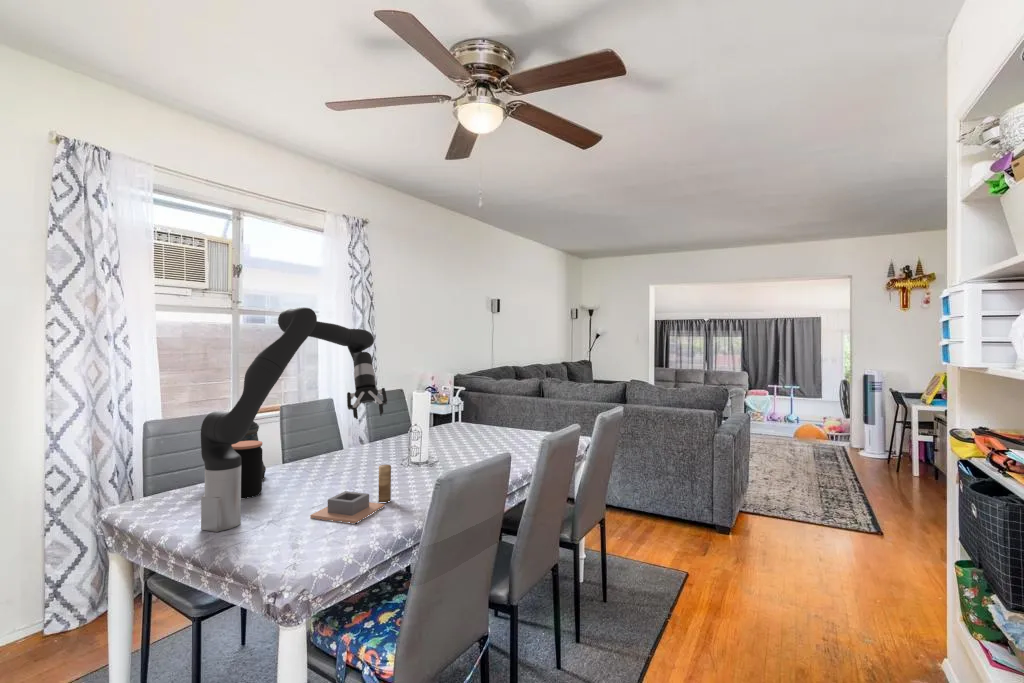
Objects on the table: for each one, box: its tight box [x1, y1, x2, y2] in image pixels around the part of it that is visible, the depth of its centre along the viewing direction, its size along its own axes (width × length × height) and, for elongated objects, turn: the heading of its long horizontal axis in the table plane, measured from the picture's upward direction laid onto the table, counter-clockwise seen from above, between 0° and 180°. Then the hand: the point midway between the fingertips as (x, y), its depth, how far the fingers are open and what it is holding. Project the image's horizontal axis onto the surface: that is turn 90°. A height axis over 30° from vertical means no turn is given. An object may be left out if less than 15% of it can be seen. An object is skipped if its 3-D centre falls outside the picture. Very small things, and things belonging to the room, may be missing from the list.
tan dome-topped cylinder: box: [378, 464, 392, 503], centre depth 167 cm, size 4×4×12 cm
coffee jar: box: [232, 440, 263, 499], centre depth 172 cm, size 11×11×18 cm
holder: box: [310, 490, 386, 524], centre depth 156 cm, size 16×16×5 cm
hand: (369, 416), depth 180 cm, fingers open, 8 cm apart
